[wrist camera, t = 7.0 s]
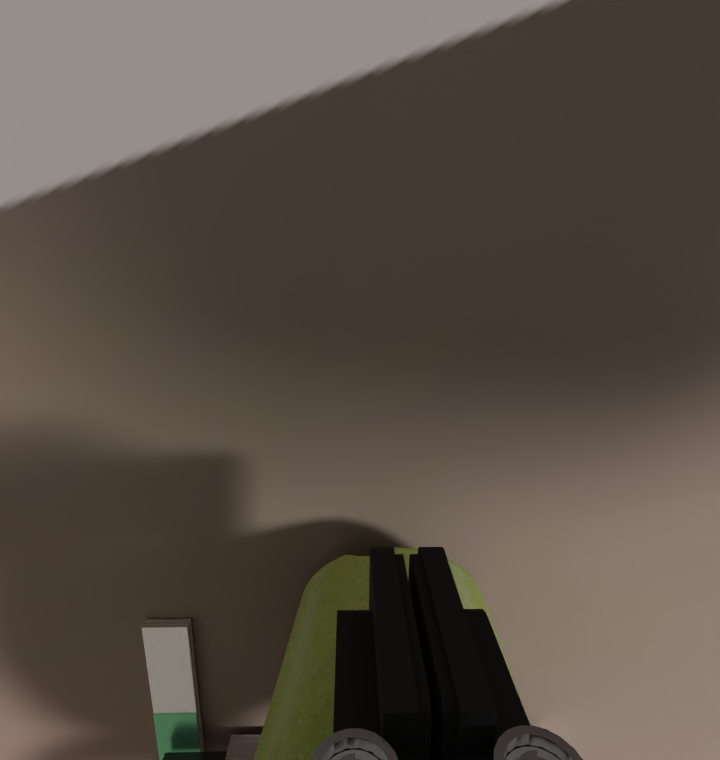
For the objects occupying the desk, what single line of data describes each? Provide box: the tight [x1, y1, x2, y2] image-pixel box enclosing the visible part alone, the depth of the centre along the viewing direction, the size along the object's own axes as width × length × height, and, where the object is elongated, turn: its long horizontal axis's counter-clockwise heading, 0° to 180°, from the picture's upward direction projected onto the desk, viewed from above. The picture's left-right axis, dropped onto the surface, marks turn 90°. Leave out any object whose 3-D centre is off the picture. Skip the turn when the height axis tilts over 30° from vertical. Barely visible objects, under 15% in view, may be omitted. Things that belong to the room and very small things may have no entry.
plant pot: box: [254, 547, 529, 760], centre depth 12 cm, size 9×9×9 cm
